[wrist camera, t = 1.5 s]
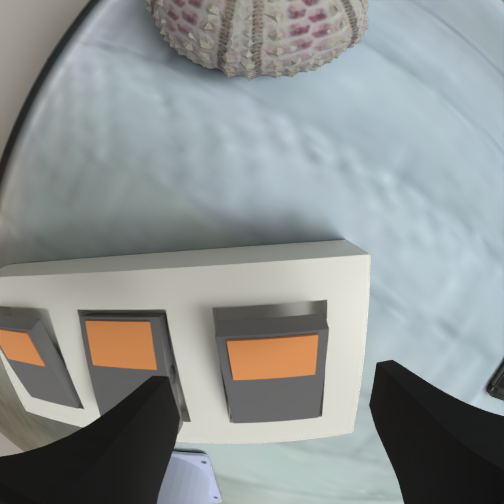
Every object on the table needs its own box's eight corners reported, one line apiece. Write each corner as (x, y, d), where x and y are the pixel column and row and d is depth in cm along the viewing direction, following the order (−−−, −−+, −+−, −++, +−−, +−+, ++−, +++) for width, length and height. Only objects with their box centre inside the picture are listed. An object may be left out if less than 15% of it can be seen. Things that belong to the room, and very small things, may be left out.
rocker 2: (314, 399, 17) (318, 418, 15) (234, 404, 17) (233, 424, 15) (322, 309, 14) (329, 330, 12) (218, 316, 14) (214, 338, 13)
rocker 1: (84, 393, 17) (77, 409, 16) (38, 384, 17) (30, 397, 16) (43, 315, 14) (30, 331, 13) (-2, 312, 15) (-14, 325, 13)
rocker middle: (184, 421, 16) (177, 435, 14) (112, 414, 16) (102, 425, 14) (167, 311, 16) (158, 317, 14) (92, 311, 16) (77, 316, 14)
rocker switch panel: (339, 395, 20) (352, 432, 16) (48, 386, 21) (26, 411, 17) (346, 239, 18) (370, 254, 14) (9, 264, 19) (-24, 278, 15)
